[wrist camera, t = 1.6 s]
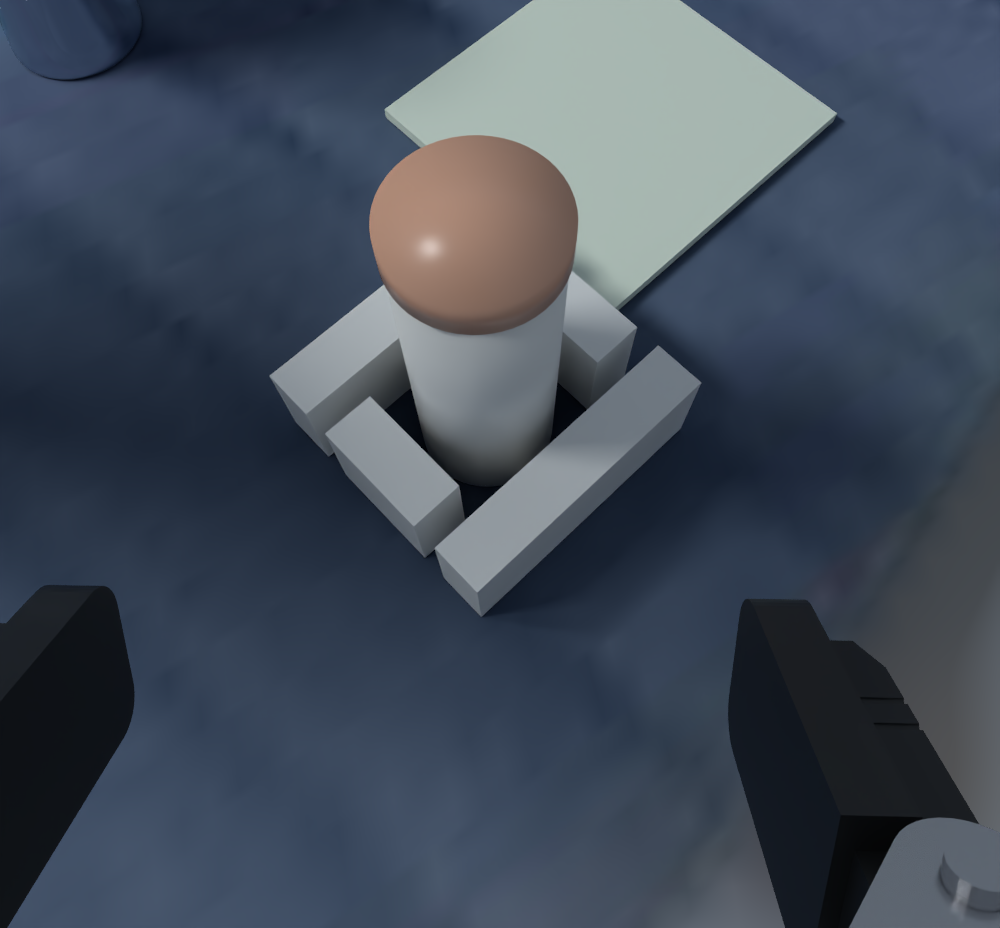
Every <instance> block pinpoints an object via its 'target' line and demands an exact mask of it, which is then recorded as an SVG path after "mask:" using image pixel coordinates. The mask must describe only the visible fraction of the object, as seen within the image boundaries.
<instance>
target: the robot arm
mask: <svg viewBox="0 0 1000 928" xmlns="http://www.w3.org/2000/svg"><path fill="white" fill-rule="evenodd" d="M133 708H134V684H133V678H132V673H131V668H130V664H129V659H128V654H127V649H126V644H125V639H124V634H123V629H122V624H121V620H120V615H119V610H118V605H117V601H116V598H115V596H114V594H113V592H112V591H111V590H110V589H109V588H108V587H106V586H69V585H46V586H43V587H41V588H40V589H39V590H38V591H36V592H35V594H34V595H33V596H32V597H31V598H30V599H29V600H28V601H27V602H26V603H25V604H24V605H23V606H22V607H21V608H20V609H19V610H18V611H17V612H16V613H15V614H14V616H13V617H12V618H11V619H10V620H9V621H8V622H7V623H6V624H5V623H0V928H7V927H8V926H9V924H10V922H11V921H12V919H13V917H14V916H15V914H16V913H17V911H18V909H19V908H20V906H21V904H22V903H23V901H24V900H25V898H26V896H27V895H28V893H29V891H30V890H31V888H32V886H33V885H34V883H35V882H36V880H37V878H38V877H39V875H40V873H41V872H42V870H43V869H44V867H45V865H46V864H47V862H48V860H49V859H50V857H51V855H52V854H53V852H54V851H55V849H56V847H57V846H58V844H59V842H60V841H61V839H62V838H63V836H64V834H65V833H66V831H67V829H68V828H69V826H70V824H71V823H72V821H73V820H74V818H75V816H76V815H77V813H78V811H79V810H80V808H81V807H82V805H83V803H84V802H85V800H86V798H87V797H88V795H89V793H90V792H91V790H92V789H93V787H94V785H95V784H96V782H97V780H98V779H99V777H100V776H101V774H102V772H103V771H104V769H105V767H106V766H107V764H108V763H109V761H110V759H111V758H112V756H113V754H114V753H115V751H116V749H117V748H118V746H119V745H120V743H121V741H122V740H123V738H124V736H125V734H126V733H127V730H128V728H129V725H130V722H131V718H132V714H133ZM728 721H729V733H730V741H731V746H732V750H733V754H734V757H735V761H736V764H737V767H738V771H739V774H740V777H741V781H742V784H743V788H744V791H745V794H746V798H747V801H748V804H749V808H750V811H751V814H752V818H753V821H754V825H755V828H756V831H757V835H758V838H759V841H760V845H761V848H762V851H763V855H764V858H765V861H766V865H767V868H768V872H769V875H770V878H771V882H772V885H773V888H774V892H775V895H776V898H777V901H778V905H779V908H780V912H781V915H782V918H783V921H784V925H785V928H1000V833H999V832H997V831H995V830H993V829H990V828H988V827H985V826H982V825H980V824H979V823H978V822H977V820H976V818H975V817H974V815H973V813H972V812H971V810H970V808H969V806H968V805H967V803H966V801H965V800H964V798H963V796H962V795H961V793H960V791H959V790H958V788H957V786H956V785H955V783H954V781H953V780H952V778H951V776H950V775H949V773H948V771H947V770H946V768H945V766H944V765H943V763H942V761H941V760H940V758H939V757H938V755H937V753H936V751H935V750H934V748H933V746H932V745H931V743H930V741H929V739H928V738H927V737H926V735H925V733H924V731H923V730H919V723H918V721H917V719H916V718H915V716H914V714H913V713H912V711H911V709H910V708H909V706H908V704H904V698H903V696H902V694H901V693H900V691H899V689H898V688H897V686H896V685H895V683H894V681H893V679H892V678H891V676H890V674H889V673H888V671H887V669H886V668H885V667H884V666H883V665H882V664H881V663H879V662H878V661H877V660H876V659H874V658H873V657H872V656H871V655H869V654H868V653H867V652H866V651H864V650H863V649H862V648H861V647H859V646H858V645H857V644H856V643H854V642H853V641H830V640H829V638H828V636H827V634H826V632H825V630H824V628H823V627H822V625H821V623H820V621H819V619H818V617H817V615H816V613H815V611H814V609H813V608H812V606H811V604H810V603H809V602H808V601H807V600H787V599H746V600H745V601H744V602H743V604H742V607H741V611H740V617H739V624H738V632H737V640H736V647H735V655H734V663H733V671H732V678H731V686H730V694H729V705H728Z"/></svg>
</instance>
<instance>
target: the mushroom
mask: <svg viewBox="0 0 1000 928" xmlns="http://www.w3.org/2000/svg"><path fill="white" fill-rule="evenodd" d="M369 230H370V237H371V242H372V246H373V250H374V254H375V258H376V262H377V266H378V270H379V273H380V276H381V279H382V281H383V283H384V285H385V287H386V289H387V291H388V295H389V299H390V303H391V307H392V311H393V315H394V319H395V323H396V328H397V332H398V336H399V340H400V344H401V348H402V352H403V356H404V360H405V364H406V368H407V372H408V377H409V381H410V385H411V389H412V393H413V397H414V401H415V405H416V409H417V413H418V417H419V421H420V426H421V430H422V434H423V438H424V442H425V445H426V448H427V450H428V452H429V454H430V456H431V458H432V459H433V460H434V461H435V462H436V463H437V464H438V465H439V466H440V467H441V468H442V469H443V470H444V471H445V472H446V473H447V474H448V475H449V476H451V477H452V478H454V479H456V480H458V481H460V482H463V483H466V484H469V485H474V486H482V487H492V486H499V485H504V484H506V483H507V482H508V481H509V480H510V479H511V478H512V477H513V476H515V475H516V474H517V473H518V472H519V471H520V470H521V469H522V468H523V467H525V466H526V465H527V464H528V463H529V462H530V461H531V460H532V459H533V458H534V457H536V456H537V455H538V454H539V453H540V452H541V451H542V450H543V449H544V448H545V447H547V446H548V445H549V443H550V440H551V435H552V427H553V418H554V408H555V399H556V390H557V381H558V371H559V362H560V353H561V344H562V335H563V325H564V316H565V307H566V298H567V288H568V279H569V277H570V274H571V272H572V268H573V264H574V260H575V251H576V242H577V234H578V209H577V205H576V201H575V197H574V195H573V192H572V190H571V188H570V186H569V184H568V182H567V181H566V179H565V177H564V176H563V175H562V174H561V172H560V171H559V170H558V169H557V168H556V167H555V166H554V165H553V164H552V163H551V162H550V161H549V160H548V159H546V158H545V157H544V156H542V155H541V154H540V153H538V152H536V151H535V150H533V149H531V148H529V147H527V146H525V145H523V144H520V143H518V142H515V141H512V140H508V139H505V138H500V137H494V136H484V135H467V136H458V137H451V138H447V139H444V140H440V141H437V142H434V143H431V144H429V145H426V146H424V147H422V148H420V149H418V150H416V151H415V152H413V153H412V154H410V155H409V156H407V157H406V158H404V159H403V160H402V161H401V162H400V163H398V164H397V165H396V166H395V167H394V168H393V169H392V170H391V171H390V173H389V174H388V175H387V176H386V178H385V179H384V180H383V182H382V183H381V185H380V187H379V189H378V191H377V193H376V195H375V197H374V200H373V203H372V206H371V212H370V222H369Z"/></svg>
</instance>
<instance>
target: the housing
mask: <svg viewBox="0 0 1000 928" xmlns="http://www.w3.org/2000/svg"><path fill="white" fill-rule="evenodd" d="M636 330H637V327H636V326H635V325H634V324H633V323H632V322H631V321H630V320H628V319H627V318H626V317H625V316H624V315H623V314H621V313H620V312H619V311H618V310H617V309H616V308H615V307H613V306H612V305H611V304H610V303H609V302H608V301H606V300H605V299H604V298H603V297H602V296H601V295H599V294H598V293H597V292H596V291H595V290H594V289H593V288H591V287H590V286H589V285H588V284H587V283H586V282H584V281H583V280H582V279H581V278H580V277H579V276H578V275H576V274H575V273H574V272H573V271H572V272H571V274H570V277H569V279H568V288H567V298H566V307H565V316H564V325H563V335H562V344H561V353H560V362H559V371H558V381H557V382H558V383H559V384H560V385H561V386H562V387H563V388H564V389H566V390H567V391H568V392H569V393H570V394H571V395H572V396H573V397H574V398H575V399H576V400H578V401H579V402H580V403H581V404H582V405H583V406H584V407H585V408H586V409H587V410H586V411H585V412H584V413H583V414H582V415H581V416H580V417H579V418H578V419H576V420H575V421H574V422H573V423H572V424H571V425H570V426H569V427H568V428H566V429H565V430H564V431H563V432H562V433H561V434H560V435H559V436H558V437H557V438H555V439H554V440H553V441H552V442H551V443H550V444H549V445H548V446H547V447H545V448H544V449H543V450H542V451H541V452H540V453H539V454H538V455H537V456H536V457H534V458H533V459H532V460H531V461H530V462H529V463H528V464H527V465H526V466H525V467H523V468H522V469H521V470H520V471H519V472H518V473H517V474H516V475H515V476H513V477H512V478H511V479H510V480H509V481H508V482H507V483H506V484H505V485H504V486H502V487H501V488H500V489H499V490H498V491H497V492H496V493H495V494H494V495H492V496H491V497H490V498H489V499H488V500H487V501H486V502H485V503H484V504H483V505H481V506H480V507H479V508H478V509H477V510H476V511H475V512H474V513H473V514H472V515H470V516H469V517H468V518H467V519H466V520H465V517H464V511H463V505H462V499H461V493H460V488H459V485H458V484H457V483H456V482H455V481H454V480H453V479H452V478H451V477H450V476H449V475H448V474H447V473H446V472H445V471H444V470H443V469H442V468H441V467H440V466H439V465H438V464H437V463H436V462H435V461H434V460H433V459H432V458H431V457H430V456H429V455H428V454H427V453H426V452H425V451H424V450H423V449H422V448H421V447H420V446H419V445H418V444H417V443H416V442H415V441H414V440H413V439H412V438H411V437H410V436H409V435H408V434H407V433H406V432H405V431H404V430H403V429H402V428H401V427H400V426H399V425H398V424H397V423H396V422H395V421H394V420H393V419H392V418H391V417H390V416H389V415H388V414H387V413H386V412H385V411H384V410H385V409H386V408H388V407H389V406H390V405H391V404H392V403H393V402H395V401H396V400H397V399H398V398H399V397H401V396H402V395H403V394H404V393H405V392H407V391H408V390H409V389H410V388H411V385H410V381H409V377H408V372H407V368H406V364H405V360H404V356H403V352H402V348H401V344H400V340H399V336H398V332H397V328H396V323H395V319H394V315H393V311H392V307H391V303H390V299H389V295H388V291H387V289H386V287H385V285H383V286H382V287H380V288H379V289H378V290H377V291H375V292H374V293H373V294H372V295H370V296H369V297H368V298H367V299H365V300H364V301H363V302H362V303H360V304H359V305H358V306H357V307H355V308H354V309H353V310H352V311H350V312H349V313H348V314H347V315H345V316H344V317H343V318H342V319H340V320H339V321H338V322H336V323H335V324H334V325H333V326H331V327H330V328H329V329H328V330H326V331H325V332H324V333H323V334H321V335H320V336H319V337H318V338H316V339H315V340H314V341H313V342H311V343H310V344H309V345H308V346H306V347H305V348H304V349H303V350H301V351H300V352H299V353H298V354H296V355H295V356H294V357H293V358H291V359H290V360H289V361H288V362H286V363H285V364H284V365H283V366H281V367H280V368H279V369H277V370H276V371H275V372H274V373H272V374H271V375H270V378H271V380H272V382H273V383H274V385H275V387H276V388H277V390H278V392H279V394H280V395H281V397H282V399H283V401H284V402H285V404H286V406H287V408H288V409H289V411H290V413H291V415H292V416H293V418H294V420H295V422H296V423H297V424H298V425H299V426H300V427H301V428H302V429H303V430H304V431H305V432H306V433H307V434H308V436H309V437H310V438H311V439H312V440H313V441H314V442H315V443H316V444H317V445H318V446H319V447H320V448H321V449H322V450H323V451H324V452H325V453H326V454H327V455H328V457H329V456H330V455H332V454H333V453H335V455H336V457H337V459H338V461H339V462H340V464H341V466H342V468H343V470H344V472H345V474H346V475H347V476H348V478H349V479H350V480H351V481H352V482H353V483H354V484H355V485H356V486H357V487H358V488H359V489H360V490H361V491H362V492H363V493H364V494H365V495H366V496H367V498H368V499H369V500H370V501H371V502H372V503H373V504H374V505H375V506H376V507H377V508H378V509H379V510H380V511H381V512H382V513H383V514H384V515H385V516H386V517H387V519H388V520H389V521H390V522H391V523H392V524H393V525H394V526H395V527H396V528H397V529H398V530H399V531H400V532H401V533H402V534H403V535H404V536H405V537H406V538H407V540H408V541H409V542H410V543H411V544H412V545H413V546H414V547H415V548H416V549H417V550H418V551H419V552H420V553H421V554H422V555H423V556H424V557H425V558H426V557H427V556H428V555H429V554H430V553H431V552H432V551H433V550H435V551H436V555H437V558H438V561H439V564H440V568H441V571H442V574H443V577H444V578H445V579H446V581H447V582H448V583H449V584H450V585H451V586H452V587H453V588H454V589H455V590H456V591H457V592H458V593H459V594H460V595H461V596H462V597H463V598H464V599H465V600H466V602H467V603H468V604H469V605H470V606H471V607H472V608H473V609H474V610H475V611H476V612H477V613H478V614H479V615H480V616H481V617H482V616H483V615H484V614H485V613H486V612H487V611H488V610H490V609H491V608H492V607H493V606H494V605H495V604H496V603H497V602H498V601H499V600H500V599H501V598H502V597H503V596H504V595H505V594H506V593H507V592H509V591H510V590H511V589H512V588H513V587H514V586H515V585H516V584H517V583H518V582H519V581H520V580H521V579H522V578H523V577H524V576H525V575H526V574H528V573H529V572H530V571H531V570H532V569H533V568H534V567H535V566H536V565H537V564H538V563H539V562H540V561H541V560H542V559H543V558H544V557H546V556H547V555H548V554H549V553H550V552H551V551H552V550H553V549H554V548H555V547H556V546H557V545H558V544H559V543H560V542H561V541H562V540H563V539H565V538H566V537H567V536H568V535H569V534H570V533H571V532H572V531H573V530H574V529H575V528H576V527H577V526H578V525H579V524H580V523H581V522H583V521H584V520H585V519H586V518H587V517H588V516H589V515H590V514H591V513H592V512H593V511H594V510H595V509H596V508H597V507H598V506H599V505H600V504H602V503H603V502H604V501H605V500H606V499H607V498H608V497H609V496H610V495H611V494H612V493H613V492H614V491H615V490H616V489H617V488H618V487H619V486H621V485H622V484H623V483H624V482H625V481H626V480H627V479H628V478H629V477H630V476H631V475H632V474H633V473H634V472H635V471H636V470H637V469H639V468H640V467H641V466H642V465H643V464H644V463H645V462H646V461H647V460H648V459H649V458H650V457H651V456H652V455H653V454H654V453H655V452H656V451H658V450H659V449H660V448H661V447H662V446H663V445H664V444H665V443H666V442H667V441H668V440H669V439H670V438H671V437H672V436H673V435H674V434H676V433H677V432H678V431H679V430H680V429H681V427H682V425H683V422H684V420H685V418H686V416H687V414H688V411H689V409H690V407H691V405H692V403H693V400H694V398H695V396H696V394H697V391H698V389H699V387H700V385H701V382H700V381H699V380H698V379H697V378H695V377H694V376H693V375H692V374H691V373H690V372H689V371H687V370H686V369H685V368H684V367H683V366H682V365H680V364H679V363H678V362H677V361H676V360H675V359H673V358H672V357H671V356H670V355H669V354H668V353H667V352H665V351H664V350H663V349H662V348H661V347H660V346H657V347H656V348H655V349H654V350H653V351H652V352H650V353H649V354H648V355H647V356H646V357H645V358H644V359H643V360H642V361H640V362H639V363H638V364H637V365H636V366H635V367H634V368H633V369H632V370H631V371H629V372H628V373H627V374H626V375H625V372H626V368H627V364H628V360H629V357H630V353H631V349H632V345H633V341H634V338H635V334H636Z"/></svg>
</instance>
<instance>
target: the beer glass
mask: <svg viewBox="0 0 1000 928" xmlns="http://www.w3.org/2000/svg"><path fill="white" fill-rule="evenodd" d="M0 23H1V26H2V28H3V31H4V33H5V36H6V38H7V40H8V43H9V45H10V47H11V49H12V51H13V53H14V54H15V56H16V57H17V59H18V60H19V61H20V62H21V63H22V64H23V65H24V66H25V67H26V68H28V69H29V70H31V71H32V72H34V73H36V74H38V75H41V76H44V77H48V78H53V79H62V80H70V79H80V78H85V77H89V76H92V75H95V74H98V73H101V72H103V71H105V70H107V69H109V68H111V67H112V66H114V65H115V64H117V63H118V62H119V61H121V60H122V59H123V58H124V57H125V56H126V55H127V54H128V53H129V52H130V51H131V49H132V48H133V47H134V45H135V43H136V42H137V40H138V37H139V35H140V32H141V27H142V17H141V11H140V8H139V5H138V3H137V1H136V0H0Z"/></svg>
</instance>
